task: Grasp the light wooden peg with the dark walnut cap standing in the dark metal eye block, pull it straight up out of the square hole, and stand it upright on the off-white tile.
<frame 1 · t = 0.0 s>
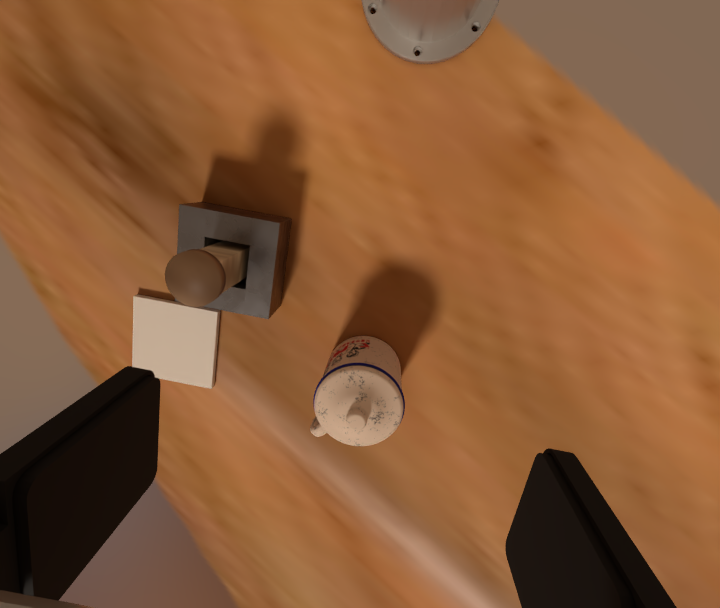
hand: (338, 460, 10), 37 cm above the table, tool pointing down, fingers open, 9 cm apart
eye block: (242, 255, 47), on the table
peg: (221, 265, 41), in the eye block
teacup with lid: (355, 375, 50), on the table
tile: (176, 341, 51), on the table
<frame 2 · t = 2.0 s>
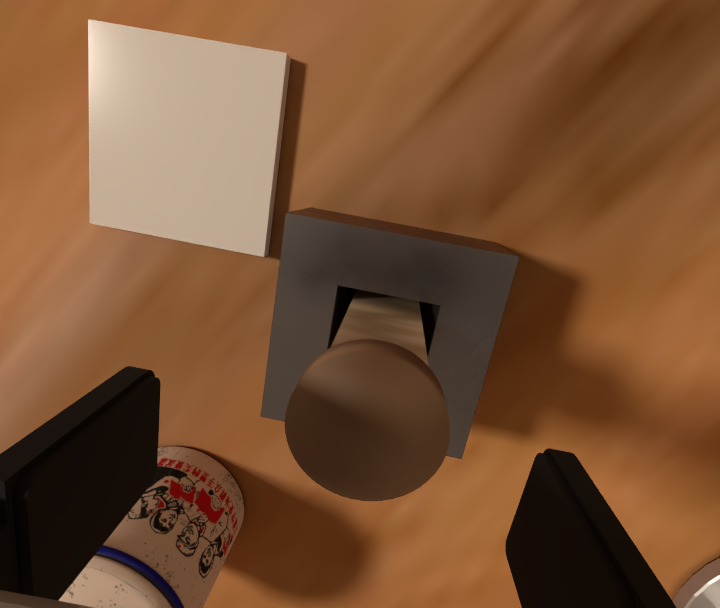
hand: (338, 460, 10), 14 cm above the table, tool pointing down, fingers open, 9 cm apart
eye block: (383, 312, 24), on the table
peg: (377, 352, 18), in the eye block
teacup with lid: (171, 482, 29), on the table
tile: (188, 146, 22), on the table
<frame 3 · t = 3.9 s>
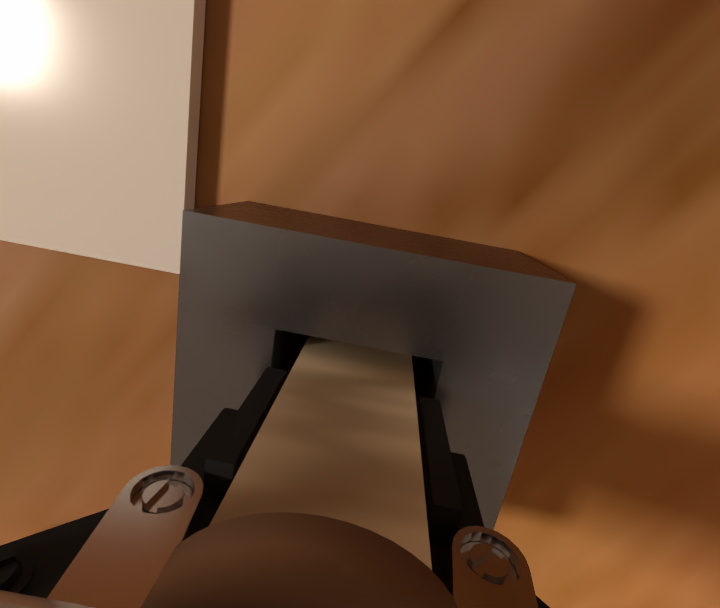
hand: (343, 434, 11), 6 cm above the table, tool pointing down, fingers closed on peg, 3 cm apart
eye block: (358, 350, 17), on the table
peg: (342, 441, 11), in the eye block, touching gripper
tile: (61, 108, 15), on the table
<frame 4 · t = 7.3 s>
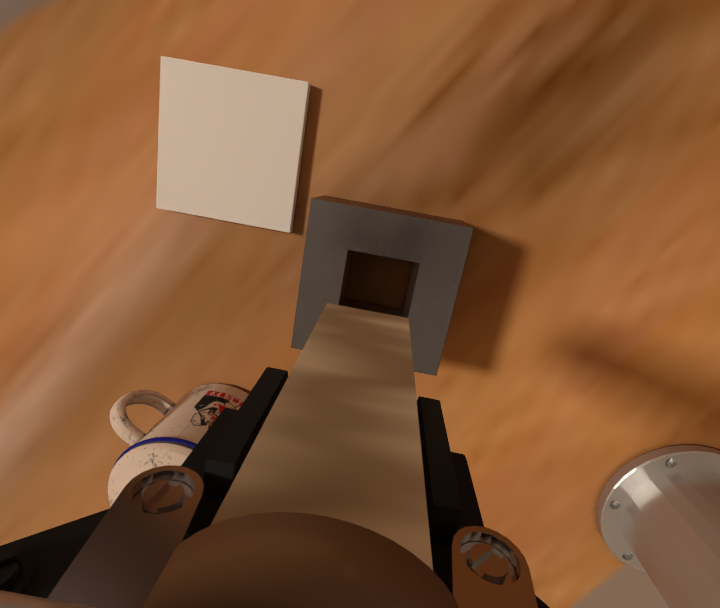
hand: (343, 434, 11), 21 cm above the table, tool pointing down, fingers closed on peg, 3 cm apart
eye block: (379, 274, 32), on the table
peg: (342, 441, 11), point 22 cm above the table, touching gripper
teacup with lid: (212, 414, 36), on the table
tile: (232, 149, 30), on the table
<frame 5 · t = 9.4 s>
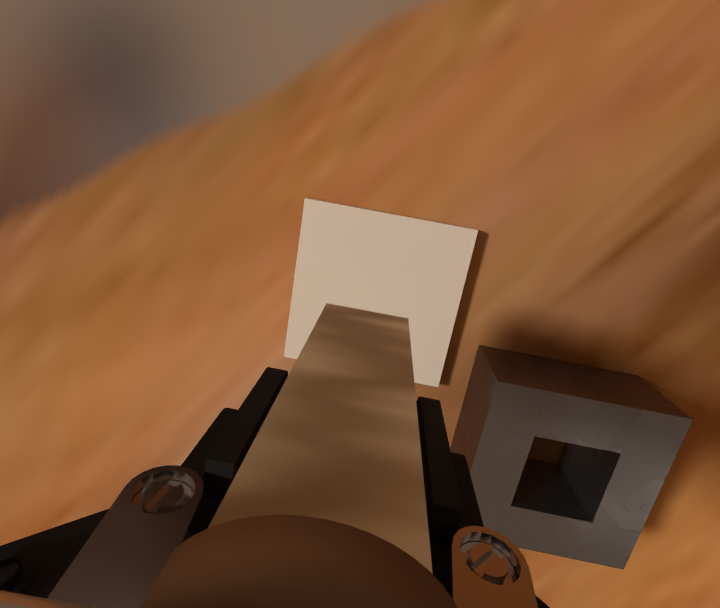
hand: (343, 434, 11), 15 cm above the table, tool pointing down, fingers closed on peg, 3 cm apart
eye block: (534, 428, 28), on the table
peg: (341, 442, 11), point 16 cm above the table, touching gripper
tile: (375, 294, 26), on the table
when the fingers open (8 cm above the table, at t = 11.0 s): peg drops 1 cm, resting on tile.
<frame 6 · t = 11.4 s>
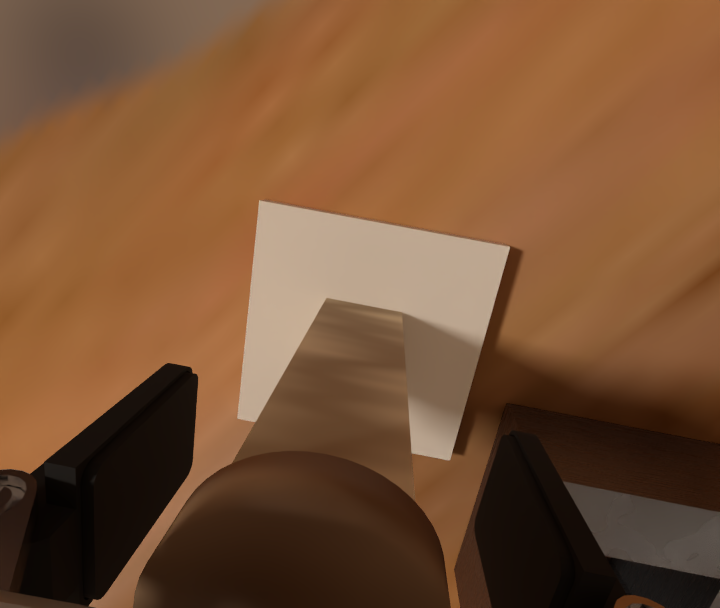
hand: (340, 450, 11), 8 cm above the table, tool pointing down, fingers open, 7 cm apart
eye block: (579, 512, 20), on the table
peg: (340, 417, 12), on the tile, point 7 cm above the table
tile: (363, 333, 19), on the table
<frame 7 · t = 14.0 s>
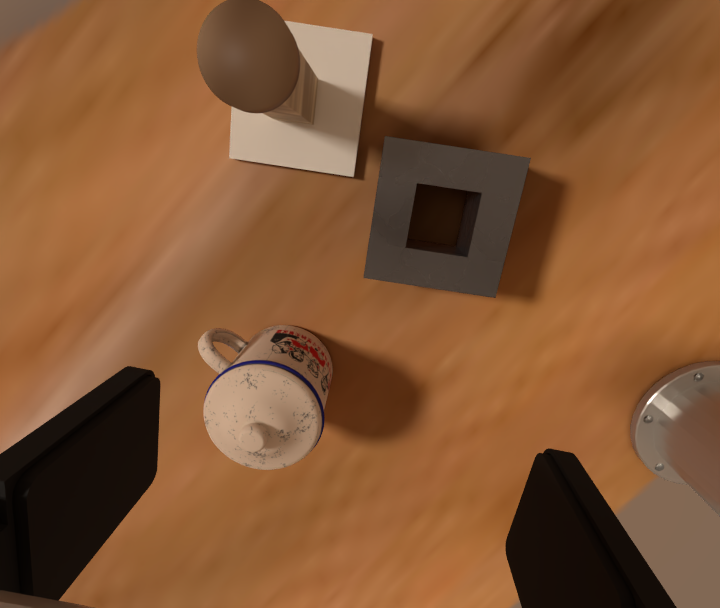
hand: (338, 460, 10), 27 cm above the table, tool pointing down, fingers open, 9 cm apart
eye block: (434, 214, 35), on the table
peg: (276, 82, 26), on the tile, point 7 cm above the table
teacup with lid: (276, 355, 39), on the table
tile: (299, 100, 33), on the table
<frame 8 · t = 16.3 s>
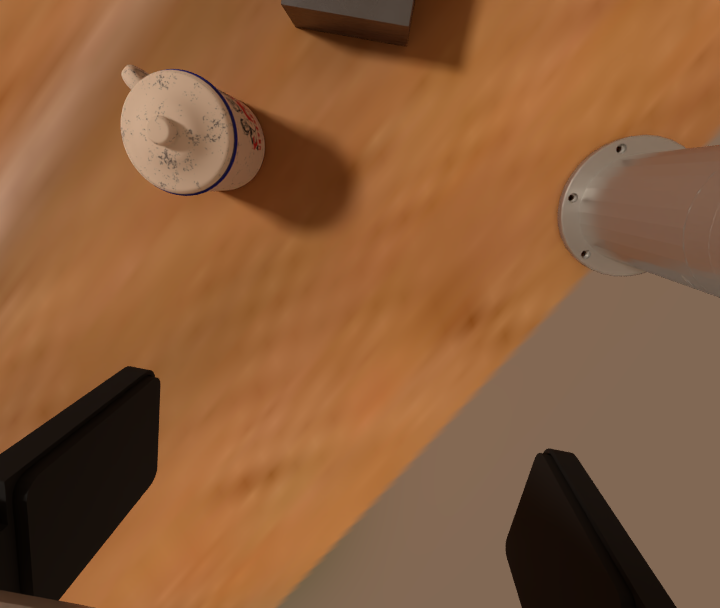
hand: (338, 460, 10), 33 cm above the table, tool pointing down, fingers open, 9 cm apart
teacup with lid: (211, 132, 40), on the table
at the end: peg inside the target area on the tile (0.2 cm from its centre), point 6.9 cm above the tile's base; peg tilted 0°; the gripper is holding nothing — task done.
